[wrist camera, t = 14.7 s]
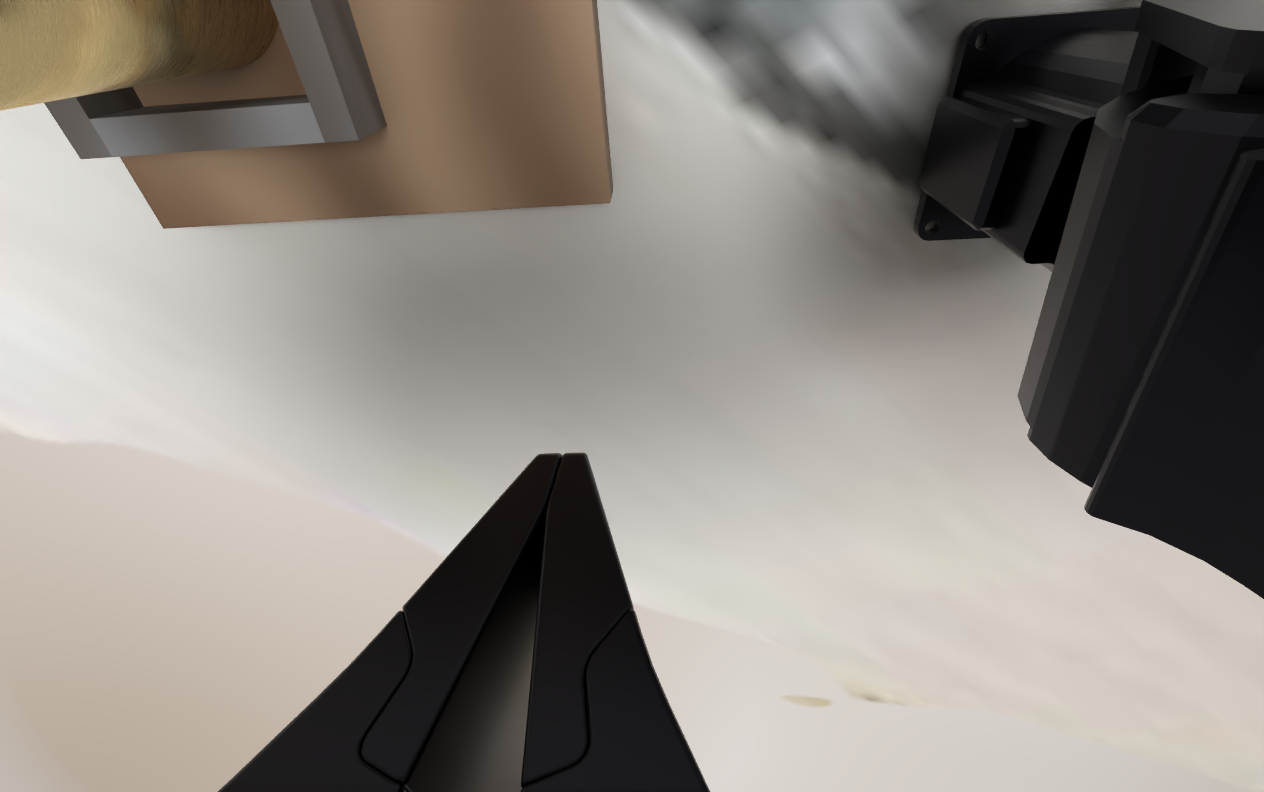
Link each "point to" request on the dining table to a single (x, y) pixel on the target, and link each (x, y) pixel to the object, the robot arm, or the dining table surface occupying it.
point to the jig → (370, 116)
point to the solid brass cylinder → (122, 43)
